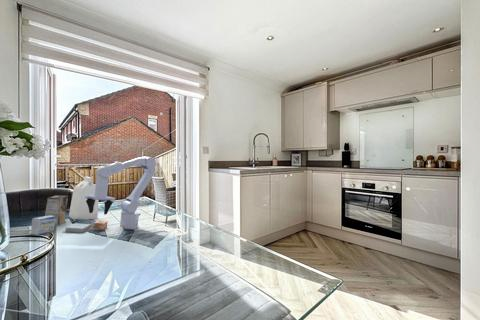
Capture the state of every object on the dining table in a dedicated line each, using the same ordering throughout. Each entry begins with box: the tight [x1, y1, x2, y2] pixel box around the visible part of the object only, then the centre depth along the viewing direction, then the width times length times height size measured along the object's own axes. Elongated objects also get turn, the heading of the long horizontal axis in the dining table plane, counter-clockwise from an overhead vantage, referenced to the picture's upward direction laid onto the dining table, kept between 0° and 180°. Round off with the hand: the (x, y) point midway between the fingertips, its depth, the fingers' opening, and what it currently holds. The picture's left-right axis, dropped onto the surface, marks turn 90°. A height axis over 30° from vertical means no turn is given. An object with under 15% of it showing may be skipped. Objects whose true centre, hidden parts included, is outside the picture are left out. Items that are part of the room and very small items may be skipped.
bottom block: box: [62, 226, 93, 234], centre depth 120 cm, size 10×10×2 cm
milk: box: [68, 176, 100, 221], centre depth 148 cm, size 12×12×26 cm
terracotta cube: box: [92, 220, 109, 231], centre depth 126 cm, size 5×5×5 cm
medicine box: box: [30, 215, 56, 236], centre depth 113 cm, size 8×4×9 cm, turn 168°
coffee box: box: [44, 194, 69, 227], centre depth 127 cm, size 9×6×16 cm
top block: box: [64, 222, 92, 232], centre depth 121 cm, size 8×8×2 cm
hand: (98, 213), depth 125 cm, fingers open, 7 cm apart
